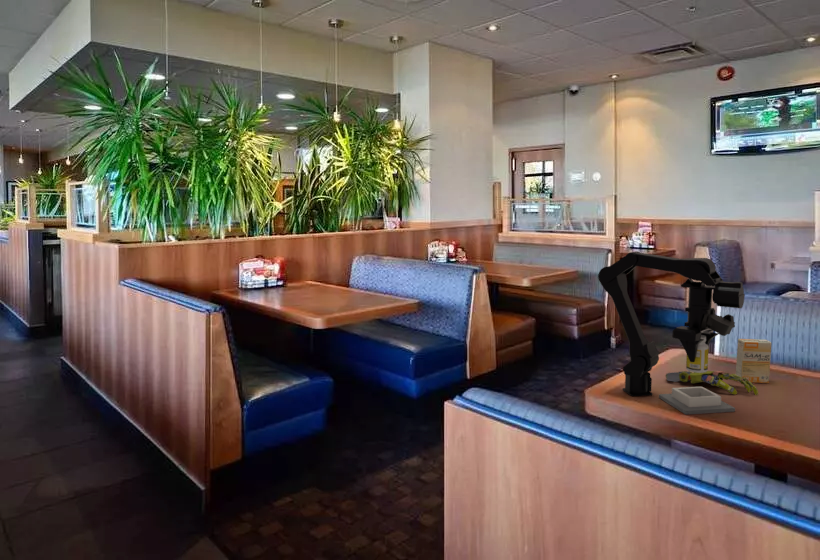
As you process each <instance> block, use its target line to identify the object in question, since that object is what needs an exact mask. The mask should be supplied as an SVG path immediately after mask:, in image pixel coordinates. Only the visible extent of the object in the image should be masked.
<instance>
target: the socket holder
mask: <svg viewBox="0 0 820 560" xmlns="http://www.w3.org/2000/svg"><path fill="white" fill-rule="evenodd" d="M658 399H660V400H661V401H664V402H665V403H666V404H668V405H670V406H671V407H673V408H674V409H676V410H677V411H680V413H683V415H701V414H715V413H716V414H718V413H734V412H736V408H735V407H734V406H733V405H731V404H729V403H726V402H725V401H723V400H722V396H721V395H720V394H718V393H715V392H713V391H711V390H709V389H708V388H705V387H703V386H687V387H686V386H685V387H684V386H683V387H672V388H671V393H659V394H658Z"/></svg>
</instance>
